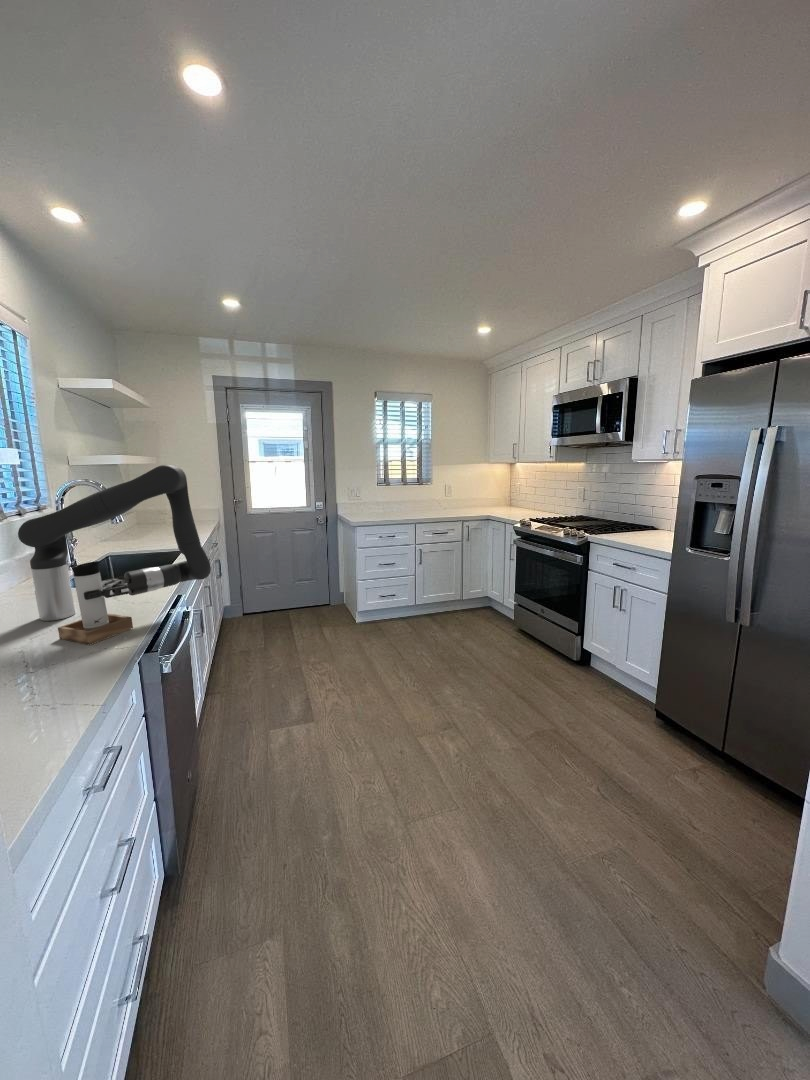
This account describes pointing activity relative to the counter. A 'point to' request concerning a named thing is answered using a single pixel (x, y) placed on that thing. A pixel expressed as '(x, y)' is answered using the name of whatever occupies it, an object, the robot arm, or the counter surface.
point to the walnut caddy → (95, 630)
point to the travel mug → (93, 608)
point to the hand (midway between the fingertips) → (81, 594)
